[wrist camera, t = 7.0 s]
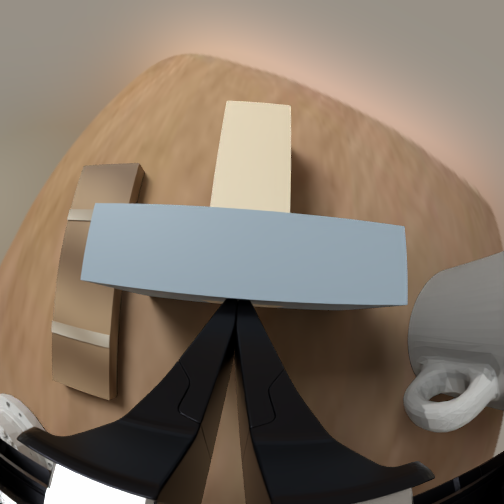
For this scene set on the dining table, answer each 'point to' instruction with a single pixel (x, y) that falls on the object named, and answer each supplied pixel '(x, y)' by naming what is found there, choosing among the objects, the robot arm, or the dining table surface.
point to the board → (89, 289)
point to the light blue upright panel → (248, 235)
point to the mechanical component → (19, 426)
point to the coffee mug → (457, 345)
